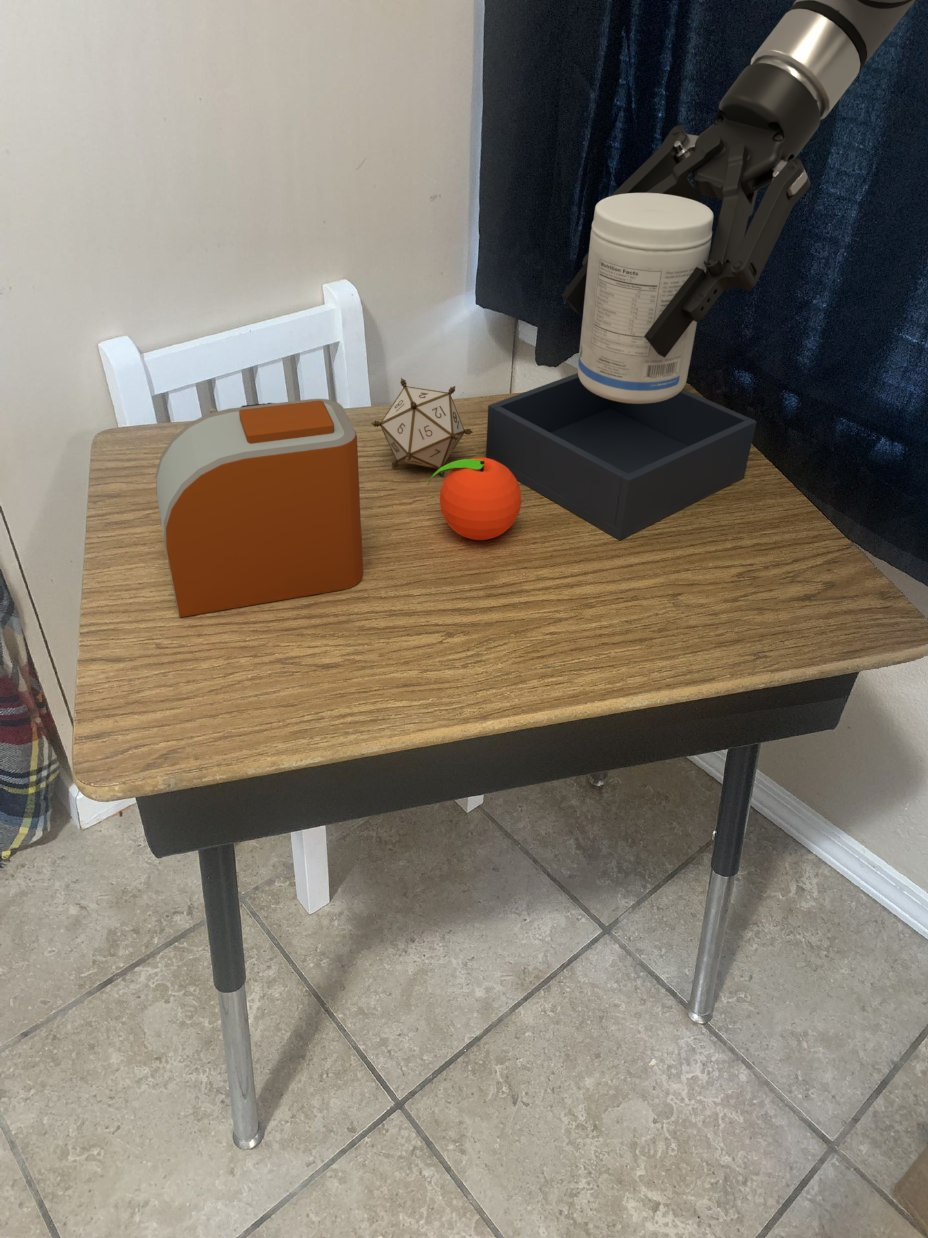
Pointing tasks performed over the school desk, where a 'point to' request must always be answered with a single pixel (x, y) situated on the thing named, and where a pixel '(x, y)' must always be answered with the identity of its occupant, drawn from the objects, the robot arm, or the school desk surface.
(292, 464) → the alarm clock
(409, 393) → the game die
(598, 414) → the bin
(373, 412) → the school desk surface
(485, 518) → the clementine
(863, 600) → the school desk surface
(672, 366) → the supplement tub
